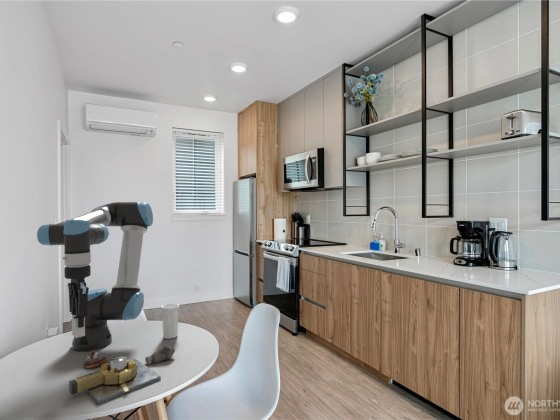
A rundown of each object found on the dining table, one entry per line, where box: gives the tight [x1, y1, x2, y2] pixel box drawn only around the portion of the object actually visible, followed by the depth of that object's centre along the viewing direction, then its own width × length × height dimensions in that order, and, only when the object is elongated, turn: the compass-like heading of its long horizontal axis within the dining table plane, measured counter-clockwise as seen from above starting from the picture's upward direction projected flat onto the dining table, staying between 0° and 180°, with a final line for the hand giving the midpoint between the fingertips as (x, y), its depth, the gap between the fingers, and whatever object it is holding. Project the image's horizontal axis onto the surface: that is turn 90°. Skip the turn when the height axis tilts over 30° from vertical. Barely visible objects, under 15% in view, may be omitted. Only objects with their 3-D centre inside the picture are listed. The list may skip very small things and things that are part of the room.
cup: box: [160, 302, 180, 340], centre depth 154 cm, size 8×8×14 cm
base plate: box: [76, 355, 162, 405], centre depth 115 cm, size 21×20×7 cm
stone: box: [144, 344, 176, 366], centre depth 130 cm, size 10×5×8 cm
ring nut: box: [68, 356, 137, 396], centre depth 112 cm, size 20×11×4 cm, turn 137°
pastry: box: [83, 350, 107, 370], centre depth 128 cm, size 8×8×5 cm
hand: (78, 335), depth 113 cm, fingers open, 3 cm apart
